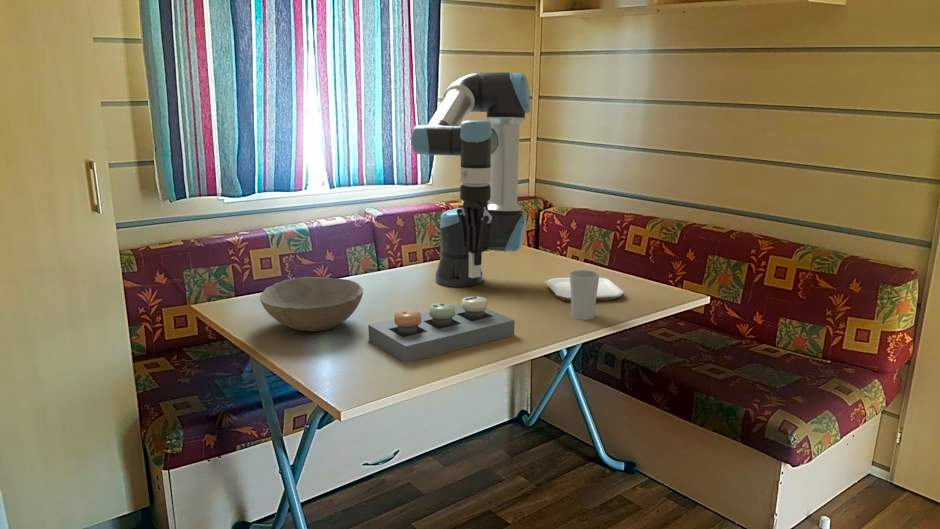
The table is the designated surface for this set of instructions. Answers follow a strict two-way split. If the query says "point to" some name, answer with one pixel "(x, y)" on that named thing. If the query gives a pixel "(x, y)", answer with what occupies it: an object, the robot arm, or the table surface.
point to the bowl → (312, 302)
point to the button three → (474, 307)
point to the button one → (407, 322)
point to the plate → (604, 289)
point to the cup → (583, 293)
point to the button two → (442, 314)
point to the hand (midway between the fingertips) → (474, 276)
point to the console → (440, 334)
